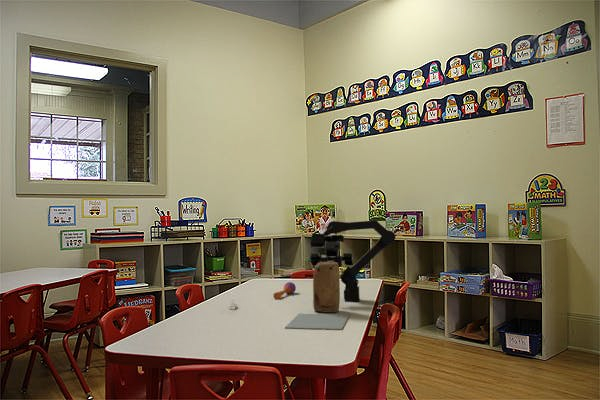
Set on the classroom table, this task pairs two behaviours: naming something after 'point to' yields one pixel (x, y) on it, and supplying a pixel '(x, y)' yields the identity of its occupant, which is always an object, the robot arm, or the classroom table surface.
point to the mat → (318, 321)
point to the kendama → (286, 290)
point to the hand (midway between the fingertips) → (330, 274)
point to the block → (326, 287)
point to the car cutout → (233, 305)
